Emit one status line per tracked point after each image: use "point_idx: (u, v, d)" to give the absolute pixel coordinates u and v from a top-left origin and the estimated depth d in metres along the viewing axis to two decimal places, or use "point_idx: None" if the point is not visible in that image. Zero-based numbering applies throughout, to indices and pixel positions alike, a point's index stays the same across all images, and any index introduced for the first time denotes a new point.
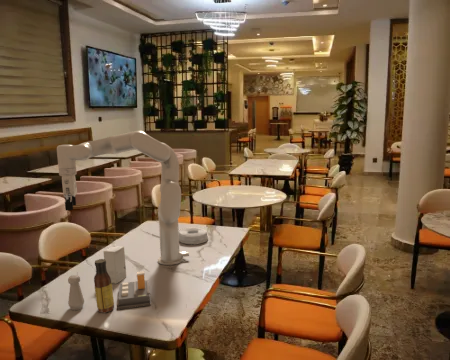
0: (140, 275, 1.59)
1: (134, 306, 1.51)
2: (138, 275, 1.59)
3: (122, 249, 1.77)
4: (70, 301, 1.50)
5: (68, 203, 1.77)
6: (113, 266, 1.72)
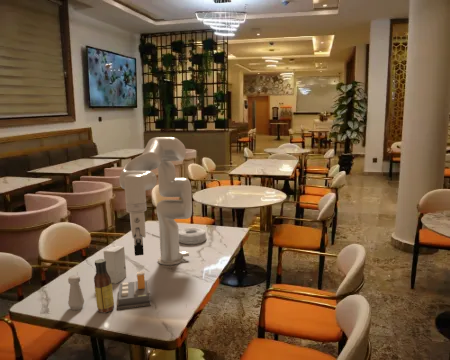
0: (140, 275, 1.59)
1: (134, 306, 1.51)
2: (138, 275, 1.59)
3: (122, 249, 1.77)
4: (70, 301, 1.50)
5: (138, 247, 1.45)
6: (113, 266, 1.72)
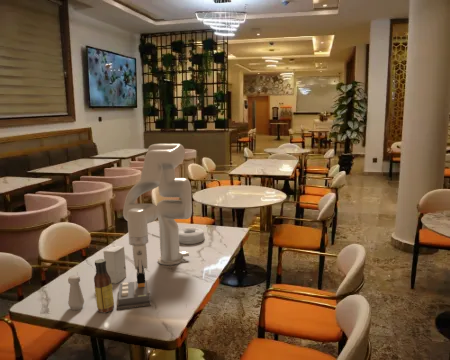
0: None
1: (134, 306, 1.51)
2: None
3: (122, 249, 1.77)
4: (70, 301, 1.50)
5: (140, 276, 1.57)
6: (113, 266, 1.72)
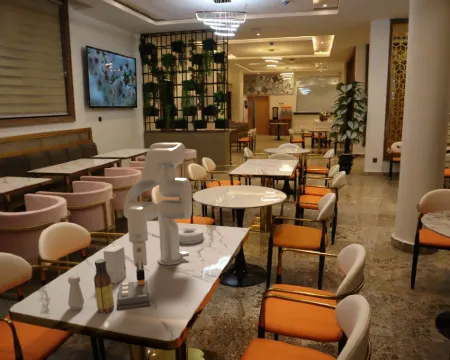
0: None
1: (134, 306, 1.51)
2: None
3: (122, 249, 1.77)
4: (70, 301, 1.50)
5: (140, 273, 1.59)
6: (113, 266, 1.72)
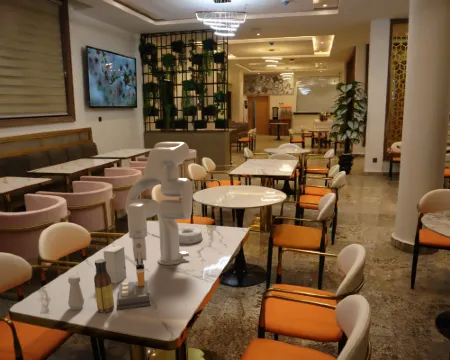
0: (140, 272, 1.62)
1: (134, 306, 1.51)
2: (138, 272, 1.62)
3: (122, 249, 1.77)
4: (70, 301, 1.50)
5: (140, 267, 1.65)
6: (113, 266, 1.72)
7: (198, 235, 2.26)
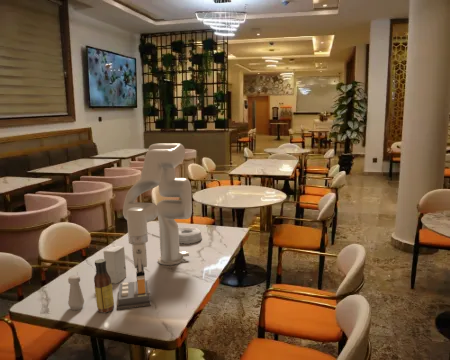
0: (140, 279, 1.55)
1: (134, 306, 1.51)
2: (138, 279, 1.55)
3: (122, 249, 1.77)
4: (70, 301, 1.50)
5: (140, 274, 1.58)
6: (113, 266, 1.72)
7: (197, 235, 2.26)
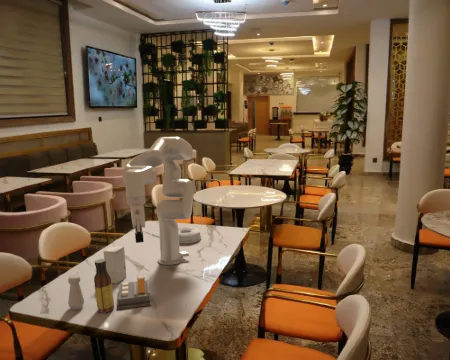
0: (140, 279, 1.55)
1: (134, 306, 1.51)
2: (138, 279, 1.55)
3: (122, 249, 1.77)
4: (70, 301, 1.50)
5: (139, 235, 1.62)
6: (113, 266, 1.72)
7: (196, 235, 2.26)
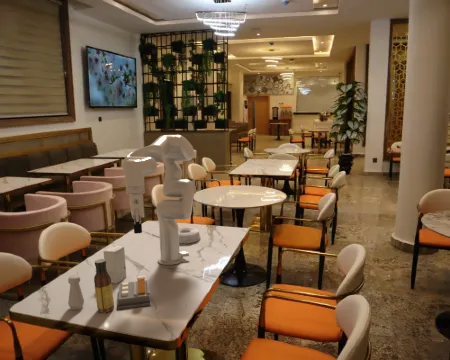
0: (140, 279, 1.55)
1: (134, 306, 1.51)
2: (138, 279, 1.55)
3: (122, 249, 1.77)
4: (70, 301, 1.50)
5: (137, 225, 1.61)
6: (113, 266, 1.72)
7: (196, 235, 2.26)
